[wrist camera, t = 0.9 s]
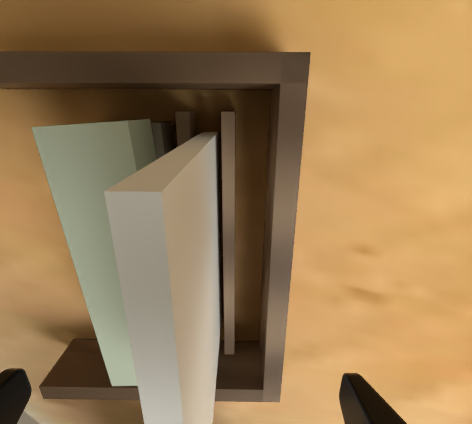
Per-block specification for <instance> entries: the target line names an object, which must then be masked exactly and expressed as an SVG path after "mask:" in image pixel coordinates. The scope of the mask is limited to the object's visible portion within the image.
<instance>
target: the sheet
mask: <svg viewBox="0 0 472 424" xmlns="http://www.w3.org/2000/svg"><path fill="white" fill-rule="evenodd" d="M104 194H105V200H106V206H107V211H108V217H109V223H110V229H111V234H112V240H113V246H114V252H115V257H116V263H117V269H118V275H119V281H120V286H121V292H122V298H123V304H124V309H125V315H126V321H127V327H128V333H129V338H130V344H131V350H132V356H133V361H134V367H135V373H136V379H137V384H138V390H139V396H140V402H141V408H142V413H143V419H144V424H213V413H214V401H215V389H216V377H217V365H218V353H219V342H220V330H221V318H222V315H221V261H220V207H219V152H218V132H202V133H200V134H199V135H197V136H195V137H194V138H192V139H190V140H189V141H187V142H185V143H184V144H182V145H180V146H179V147H177V148H175V149H174V150H172V151H170V152H169V153H167V154H165V155H164V156H162V157H160V158H159V159H157V160H155V161H154V162H152V163H150V164H149V165H147V166H145V167H144V168H142V169H141V170H139V171H137V172H136V173H134V174H132V175H131V176H129V177H127V178H126V179H124V180H122V181H121V182H119V183H117V184H116V185H114V186H112V187H111V188H109V189H107V190H106V191H104Z"/></svg>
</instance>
